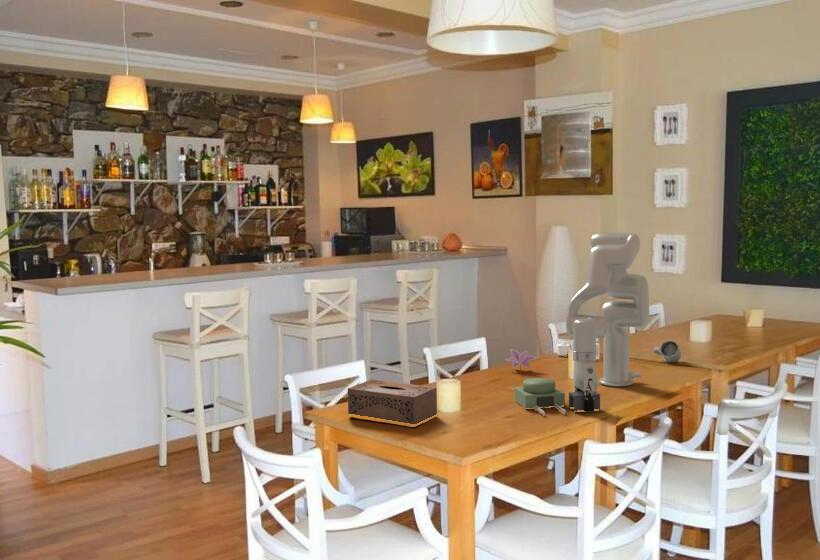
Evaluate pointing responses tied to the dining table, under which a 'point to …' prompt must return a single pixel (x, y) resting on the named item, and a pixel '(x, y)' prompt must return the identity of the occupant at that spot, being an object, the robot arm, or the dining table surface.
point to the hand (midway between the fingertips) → (584, 407)
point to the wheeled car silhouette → (565, 347)
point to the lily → (520, 358)
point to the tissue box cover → (393, 401)
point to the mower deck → (539, 394)
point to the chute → (582, 400)
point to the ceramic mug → (669, 351)
